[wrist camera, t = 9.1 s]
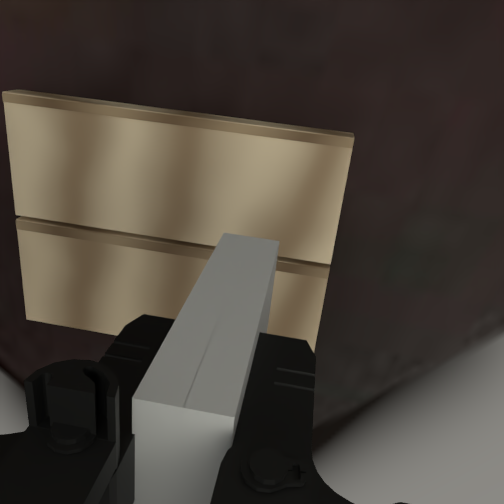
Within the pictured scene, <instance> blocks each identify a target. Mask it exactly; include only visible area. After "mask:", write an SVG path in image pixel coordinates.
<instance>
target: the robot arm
mask: <svg viewBox="0 0 504 504" xmlns="http://www.w3.org/2000/svg"><path fill="white" fill-rule="evenodd" d="M278 249H279V241H276V240H269V239H263V238H256V237H250V236H243V235H237V234H230V233H223V235H222V237H221V239H220V240H219V242H218V244H217V246H216V248H215V249H214V251H213V253H212V255H211V257H210V258H209V260H208V262H207V264H206V266H205V267H204V269H203V271H202V273H201V275H200V276H199V278H198V280H197V282H196V284H195V285H194V287H193V289H192V291H191V293H190V294H189V296H188V298H187V300H186V302H185V304H184V305H183V307H182V309H181V311H180V313H179V314H178V316H177V318H176V319H170V318H164V317H159V316H153V315H147V314H143V315H141V316H140V317H138V318H136V319H135V320H133V321H131V322H130V323H128V324H126V325H125V326H124V328H123V329H122V330H121V332H120V333H119V335H118V336H117V337H116V339H115V340H114V344H113V343H112V344H111V346H110V347H109V349H108V350H107V351H106V353H105V356H103V357H102V358H101V360H100V361H99V362H98V363H97V362H94V361H91V360H76V359H72V360H67V361H61V362H55V363H52V364H50V365H48V366H45V367H43V368H41V369H38V370H37V371H35V372H34V373H33V374H32V375H30V376H29V377H28V378H27V379H25V380H24V385H25V394H26V402H27V411H28V419H29V427H28V428H27V429H26V430H25V431H24V432H19V433H13V434H5V435H0V504H354V503H352V502H350V501H348V500H346V499H345V498H343V497H342V496H340V495H339V494H337V493H335V492H334V491H333V490H332V489H331V488H330V487H329V486H328V485H327V484H326V483H325V482H324V481H323V479H322V478H321V477H320V475H319V474H318V472H317V470H316V468H315V465H314V463H313V460H312V451H311V447H312V427H313V406H314V385H315V364H316V356H315V354H314V353H313V351H312V349H311V347H310V345H309V344H308V342H307V340H302V339H296V338H291V337H285V336H279V335H273V334H267V328H268V321H269V314H270V307H271V300H272V292H273V285H274V278H275V271H276V263H277V256H278ZM395 504H407V503H402V502H400V503H395Z"/></svg>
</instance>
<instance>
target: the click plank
mask: <svg viewBox="0 0 504 504" xmlns="http://www.w3.org/2000/svg"><path fill="white" fill-rule="evenodd" d="M2 98H3V102H4V109H5V119H6V128H7V138H8V147H9V157H10V166H11V176H12V185H13V195H14V204H15V214H16V215H20V216H26V217H33V218H39V219H45V220H52V221H58V222H64V223H71V224H77V225H83V226H90V227H96V228H102V229H109V230H115V231H122V232H128V233H134V234H141V235H147V236H153V237H160V238H166V239H172V240H179V241H185V242H191V243H198V244H204V245H210V246H217V244H218V242H219V240H220V239H221V237H222V235H223V233H230V234H237V235H243V236H250V237H256V238H263V239H269V240H276V241H279V249H278V256H280V257H287V258H293V259H299V260H306V261H312V262H319V263H325V264H331V259H332V254H333V248H334V243H335V238H336V232H337V227H338V222H339V217H340V211H341V206H342V201H343V195H344V190H345V185H346V180H347V174H348V169H349V164H350V158H351V153H352V148H353V143H354V134H353V133H349V132H341V131H333V130H326V129H318V128H311V127H303V126H295V125H288V124H280V123H272V122H265V121H257V120H249V119H242V118H234V117H226V116H219V115H211V114H203V113H196V112H188V111H180V110H173V109H165V108H157V107H150V106H142V105H134V104H127V103H119V102H112V101H104V100H96V99H89V98H81V97H73V96H66V95H58V94H50V93H43V92H35V91H27V90H20V89H17V90H10V91H4V92H3V93H2Z"/></svg>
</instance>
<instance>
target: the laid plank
mask: <svg viewBox="0 0 504 504" xmlns="http://www.w3.org/2000/svg"><path fill="white" fill-rule="evenodd" d="M16 229H17V233H18V243H19V252H20V262H21V271H22V281H23V291H24V300H25V310H26V319H28V320H33V321H39V322H44V323H50V324H56V325H61V326H67V327H72V328H78V329H83V330H89V331H95V332H100V333H106V334H111V335H117V336H118V335H119V333H120V332H121V330H122V329H123V328H124V326H125V325H126V324H128V323H130V322H131V321H133V320H135V319H136V318H138V317H140V316H141V315H143V314H147V315H153V316H159V317H164V318H170V319H176V318H177V316H178V314H179V313H180V311H181V309H182V307H183V305H184V304H185V302H186V300H187V298H188V296H189V294H190V293H191V291H192V289H193V287H194V285H195V284H196V282H197V280H198V278H199V276H200V275H201V273H202V271H203V269H204V267H205V266H206V264H207V262H208V260H209V258H210V257H211V255H212V253H213V251H214V249H215V248H216V246H210V245H204V244H198V243H191V242H185V241H179V240H172V239H166V238H160V237H153V236H147V235H141V234H134V233H128V232H122V231H115V230H109V229H102V228H96V227H90V226H83V225H77V224H71V223H64V222H58V221H52V220H45V219H39V218H33V217H26V216H21V217H19V218H17V219H16ZM329 270H330V264H325V263H319V262H312V261H306V260H299V259H293V258H287V257H280V256H277V263H276V271H275V278H274V285H273V292H272V300H271V307H270V314H269V321H268V328H267V334H273V335H279V336H285V337H291V338H296V339H302V340H307V342H308V344H309V345H310V347H311V349H312V351H313V353H314V349H315V344H316V338H317V333H318V328H319V323H320V317H321V312H322V307H323V301H324V296H325V291H326V285H327V280H328V275H329Z"/></svg>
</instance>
